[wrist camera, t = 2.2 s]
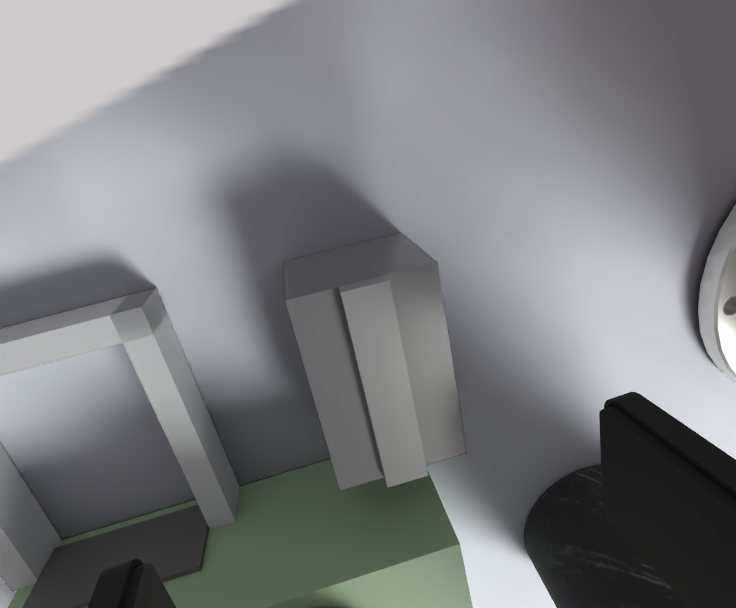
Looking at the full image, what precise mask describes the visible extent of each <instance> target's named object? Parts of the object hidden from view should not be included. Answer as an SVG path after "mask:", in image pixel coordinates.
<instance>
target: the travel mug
mask: <svg viewBox="0 0 736 608" xmlns="http://www.w3.org/2000/svg"><path fill="white" fill-rule="evenodd" d="M524 540H525V546H526V549H527V552H528V554H529V556H530V559H531V561H532V562H533V564H534V566H535V568H536V570H537V572H538V574H539V576H540V577H541V579H542V581H543V583H544V585H545V587H546V588H547V590H548V592H549V594H550V596H551V598H552V599H553V601H554V603H555V605H556V607H557V608H689V607H688V606H687V605H686V604H685V603H684V602H683V600H682V599H681V598H680V597H679V596H678V595H677V594H676V593H675V592H674V590H673V589H672V588H671V587H670V586H669V585H668V584H667V583H666V582H665V581H664V579H663V578H662V577H661V576H660V575H659V574H658V573H657V572H656V571H655V569H654V568H653V567H652V566H651V565H650V564H649V563H648V562H647V561H646V560H645V558H644V557H643V556H642V555H641V554H640V553H639V552H638V551H637V550H636V548H635V547H634V546H633V545H632V544H631V543H630V542H629V541H628V540H627V539H626V537H625V536H624V535H623V534H622V533H621V532H620V531H619V530H618V529H617V527H616V526H615V525H614V524H613V523H612V522H611V521H610V519H609V518H608V516H607V514H606V512H605V510H604V507H603V497H602V471H601V465H600V466H593V467H588V468H585V469H582V470H579V471H576V472H574V473H572V474H570V475H568V476H566V477H564V478H563V479H561V480H560V481H558V482H557V483H555V484H554V485H553V486H552V487H550V488H549V489H548V490H547V491H546V492H545V493H544V494H543V495H542V496H541V497H540V499H539V500H538V501H537V502H536V504H535V505H534V507H533V509H532V510H531V512H530V514H529V516H528V519H527V522H526V526H525V531H524Z"/></svg>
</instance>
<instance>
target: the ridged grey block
mask: <svg viewBox="0 0 736 608" xmlns="http://www.w3.org/2000/svg"><path fill="white" fill-rule="evenodd" d="M284 287H285V303H286V306H287V310H288V313H289V316H290V320H291V323H292V327H293V330H294V334H295V337H296V340H297V344H298V347H299V351H300V354H301V358H302V361H303V364H304V368H305V371H306V375H307V378H308V382H309V385H310V388H311V392H312V395H313V399H314V402H315V406H316V409H317V413H318V416H319V419H320V423H321V426H322V430H323V433H324V437H325V440H326V443H327V447H328V450H329V454H330V457H331V461H332V464H333V467H334V471H335V474H336V478H337V481H338V485H339V488H340V490H343V489H347V488H350V487H353V486H357V485H360V484H364V483H367V482H370V481H374V480H377V479H381V478H384V477H385V481H386V484H387V487H392V486H395V485H398V484H402V483H405V482H409V481H412V480H415V479H419V478H422V477H425V476H428V472H427V467H426V465H428V464H432V463H435V462H438V461H442V460H445V459H449V458H452V457H455V456H459V455H462V454H466V453H467V451H466V445H465V438H464V432H463V426H462V419H461V413H460V406H459V400H458V393H457V387H456V380H455V374H454V367H453V361H452V354H451V348H450V342H449V335H448V329H447V322H446V316H445V309H444V303H443V296H442V290H441V283H440V277H439V270H438V264H437V262H436V261H435V260H434V259H433V258H432V257H430V256H429V255H428V254H427V253H425V252H424V251H423V250H422V249H421V248H419V247H418V246H417V245H416V244H415V243H413V242H412V241H411V240H410V239H408V238H407V237H406V236H405V235H404V234H402V233H397V234H393V235H389V236H385V237H381V238H377V239H372V240H368V241H364V242H360V243H356V244H352V245H348V246H344V247H340V248H336V249H332V250H328V251H324V252H320V253H316V254H311V255H307V256H303V257H299V258H295V259H291V260H287V261H284Z"/></svg>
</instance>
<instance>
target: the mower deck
mask: <svg viewBox="0 0 736 608" xmlns="http://www.w3.org/2000/svg"><path fill="white" fill-rule="evenodd" d="M121 343H123V345H124V347H125V350H126V352H127V354H128V356H129V358H130V360H131V362H132V364H133V367H134V369H135V371H136V373H137V375H138V377H139V379H140V382H141V384H142V386H143V388H144V390H145V392H146V394H147V396H148V399H149V401H150V403H151V405H152V407H153V409H154V411H155V413H156V416H157V418H158V420H159V422H160V424H161V426H162V428H163V431H164V433H165V435H166V437H167V439H168V441H169V443H170V445H171V448H172V450H173V452H174V454H175V456H176V458H177V460H178V463H179V465H180V467H181V469H182V471H183V473H184V475H185V477H186V480H187V482H188V484H189V486H190V488H191V490H192V492H193V495H194V497H195V499H196V500H193V501H189V502H186V503H183V504H179V505H176V506H173V507H170V508H166V509H163V510H160V511H156V512H153V513H150V514H146V515H143V516H140V517H136V518H133V519H130V520H127V521H123V522H120V523H117V524H113V525H110V526H107V527H103V528H100V529H97V530H94V531H90V532H87V533H84V534H80V535H77V536H74V537H70V538H67V539H64V540H62V539H61V538H60V536H59V535H58V533H57V531H56V530H55V528H54V527H53V525H52V524H51V522H50V521H49V519H48V517H47V516H46V514H45V513H44V511H43V510H42V508H41V506H40V505H39V503H38V502H37V500H36V499H35V497H34V495H33V494H32V492H31V491H30V489H29V488H28V486H27V484H26V483H25V481H24V480H23V478H22V477H21V475H20V473H19V472H18V470H17V469H16V467H15V466H14V464H13V462H12V461H11V459H10V458H9V456H8V455H7V453H6V451H5V450H4V448H3V447H2V445H1V444H0V576H1V577H2V578H3V580H4V581H5V582H6V584H7V585H8V587H9V588H10V589H11V591H14V590H17V589H18V591H17V593H16V595H15V596H14V598H13V600H12V602H11V603H10V605H9V607H8V608H88V605H89V603H90V600H91V597H92V594H93V592H94V589H95V586H96V583H97V581H98V578H99V576H100V574H101V572H102V571H103V570H104V569H106V568H109V567H112V566H115V565H118V564H121V563H124V562H127V561H130V560H133V559H139V560H141V561H142V563H143V564H147V563H150V564H152V565H153V567H154V568H155V570H156V572H157V574H158V576H159V577H160V579H161V581H162V583H163V585H164V586H165V588H166V590H167V592H168V594H169V595H170V597H171V599H172V601H173V603H174V604H175V606H176V608H473V607H472V602H471V597H470V592H469V587H468V583H467V578H466V573H465V568H464V563H463V558H462V553H461V548H460V543H459V541H458V539H457V537H456V534H455V532H454V530H453V527H452V525H451V523H450V521H449V518H448V516H447V514H446V512H445V509H444V507H443V505H442V502H441V500H440V498H439V496H438V493H437V491H436V489H435V486H434V484H433V482H432V480H431V477H430V475H429V473H428V476H425V477H422V478H419V479H415V480H412V481H409V482H405V483H402V484H398V485H395V486H392V487H387V484H386V481H385V477H384V478H381V479H377V480H374V481H370V482H367V483H364V484H360V485H357V486H353V487H350V488H347V489H343V490H340V488H339V485H338V481H337V478H336V474H335V471H334V467H333V464H332V461H331V459H328V460H325V461H322V462H318V463H315V464H312V465H308V466H305V467H302V468H299V469H295V470H292V471H289V472H285V473H282V474H279V475H275V476H272V477H269V478H265V479H262V480H259V481H256V482H252V483H249V484H246V485H242V486H239V484H238V481H237V479H236V477H235V474H234V472H233V469H232V467H231V465H230V462H229V460H228V458H227V455H226V453H225V450H224V448H223V446H222V443H221V441H220V438H219V436H218V434H217V431H216V429H215V426H214V424H213V422H212V419H211V417H210V414H209V412H208V410H207V407H206V405H205V402H204V400H203V398H202V395H201V393H200V390H199V388H198V386H197V383H196V381H195V378H194V376H193V374H192V371H191V369H190V366H189V364H188V362H187V359H186V357H185V354H184V352H183V350H182V347H181V345H180V343H179V340H178V338H177V335H176V333H175V331H174V328H173V326H172V323H171V321H170V319H169V316H168V314H167V311H166V309H165V307H164V304H163V302H162V299H161V297H160V295H159V292H158V290H157V288H153V289H150V290H146V291H142V292H138V293H134V294H131V295H127V296H123V297H119V298H115V299H111V300H108V301H104V302H100V303H96V304H92V305H89V306H85V307H81V308H77V309H73V310H69V311H66V312H62V313H58V314H54V315H50V316H47V317H43V318H39V319H35V320H31V321H27V322H24V323H20V324H16V325H12V326H8V327H5V328H1V329H0V376H3V375H6V374H10V373H14V372H17V371H21V370H25V369H28V368H32V367H36V366H40V365H43V364H47V363H51V362H54V361H58V360H62V359H65V358H69V357H73V356H77V355H80V354H84V353H88V352H91V351H95V350H99V349H102V348H106V347H110V346H114V345H117V344H121ZM427 472H428V471H427Z"/></svg>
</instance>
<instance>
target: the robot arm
mask: <svg viewBox="0 0 736 608" xmlns="http://www.w3.org/2000/svg"><path fill="white" fill-rule="evenodd" d="M698 315H699V325H700V333H701V336H702V339H703V342H704V345H705V348H706V351H707V353H708V354H709V356H710V357H711V359H712V360H713V362H714V363H715V365H716V366H717V368H719V369H720V370H721V371H722V372H723V373H725V374H726V375H727V376H728V377H729V378H730V379H732V380H734V381H736V204H735V206H734V208H733V209H732V211H731V212H730V214H729V216H728V217H727V219H726V221H725V222H724V224H723V225H722V227H721V229H720V230H719V232H718V235H717V237H716V239H715V242H714V244H713V246H712V249H711V251H710V253H709V255H708V258H707V261H706V265H705V269H704V273H703V276H702V280H701V284H700V294H699V304H698ZM599 418H600V444H601V471H602V497H603V507H604V510H605V512H606V514H607V516H608V518H609V519H610V521H611V522H612V523H613V524H614V525H615V526H616V527H617V529H618V530H619V531H620V532H621V533H622V534H623V535H624V536H625V537H626V539H627V540H628V541H629V542H630V543H631V544H632V545H633V546H634V547H635V548H636V550H637V551H638V552H639V553H640V554H641V555H642V556H643V557H644V558H645V560H646V561H647V562H648V563H649V564H650V565H651V566H652V567H653V568H654V569H655V571H656V572H657V573H658V574H659V575H660V576H661V577H662V578H663V579H664V581H665V582H666V583H667V584H668V585H669V586H670V587H671V588H672V589H673V590H674V592H675V593H676V594H677V595H678V596H679V597H680V598H681V599H682V600H683V602H684V603H685V604H686V605H687V606H688V607H689V608H736V460H735V459H734V458H732V457H731V456H729V455H728V454H726V453H725V452H723V451H722V450H721V449H719V448H718V447H716V446H715V445H713V444H712V443H710V442H709V441H707V440H706V439H704V438H703V437H702V436H700V435H699V434H697V433H696V432H694V431H693V430H691V429H690V428H688V427H687V426H685V425H684V424H683V423H681V422H680V421H678V420H677V419H675V418H674V417H672V416H671V415H669V414H668V413H666V412H665V411H664V410H662V409H661V408H659V407H658V406H656V405H655V404H653V403H652V402H650V401H649V400H647V399H646V398H645V397H643V396H642V395H640V394H638V393H636V392H630V393H627V394H624V395H621V396H618V397H615V398H612V399H609V400H607V401H606V402H605V405H604V409H602V410H601V411H600V415H599ZM88 608H176V606H175V604H174V603H173V601H172V599H171V597H170V595H169V594H168V592H167V590H166V588H165V586H164V585H163V583H162V581H161V579H160V577H159V576H158V574H157V572H156V570H155V568H154V567H153V565H152V564H150V563H147V564H143V563H142V561H141V560H139V559H133V560H130V561H127V562H124V563H121V564H118V565H115V566H112V567H109V568H106V569H104V570H103V571H102V572H101V574H100V576H99V578H98V581H97V583H96V586H95V589H94V592H93V594H92V597H91V600H90V603H89V605H88Z"/></svg>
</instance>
